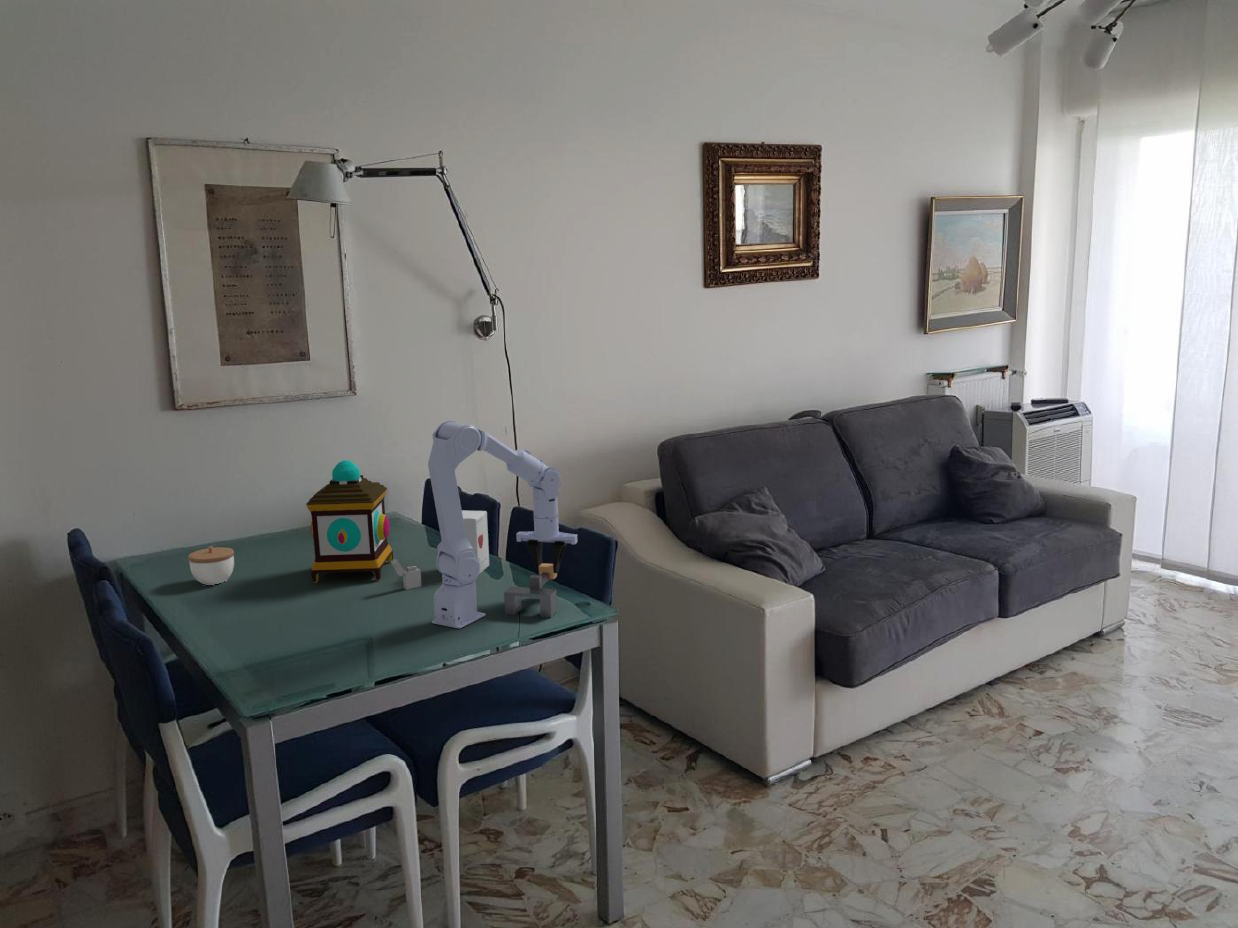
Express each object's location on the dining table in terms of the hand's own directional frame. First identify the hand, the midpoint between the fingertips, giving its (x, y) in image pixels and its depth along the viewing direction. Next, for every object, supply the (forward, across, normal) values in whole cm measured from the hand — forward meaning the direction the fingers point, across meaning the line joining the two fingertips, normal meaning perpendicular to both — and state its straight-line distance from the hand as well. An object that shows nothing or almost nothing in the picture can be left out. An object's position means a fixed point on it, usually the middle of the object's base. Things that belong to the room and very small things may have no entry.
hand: (548, 571), depth 226 cm
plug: (+1, 0, +4) cm, 4 cm away
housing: (+6, 0, +12) cm, 14 cm away
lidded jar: (+6, +88, +6) cm, 89 cm away
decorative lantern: (+6, +57, -8) cm, 57 cm away
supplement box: (+6, +28, -16) cm, 32 cm away
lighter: (+6, +36, +2) cm, 37 cm away
